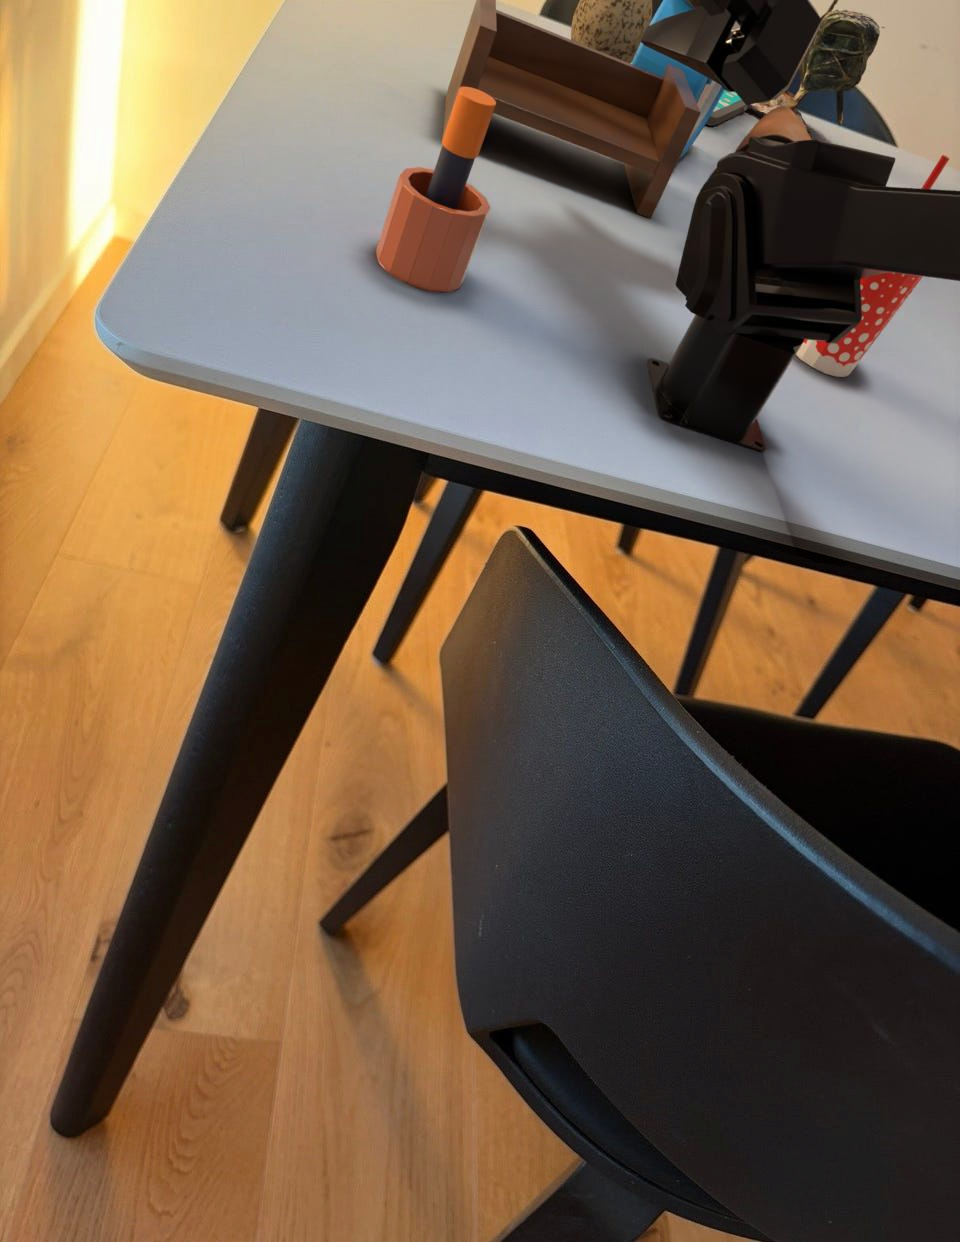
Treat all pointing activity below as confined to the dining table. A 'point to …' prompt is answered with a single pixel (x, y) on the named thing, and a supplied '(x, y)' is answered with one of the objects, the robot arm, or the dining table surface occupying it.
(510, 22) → the shelf
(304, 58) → the dining table surface
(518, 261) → the dining table surface
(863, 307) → the beverage cup
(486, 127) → the marker
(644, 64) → the alarm clock
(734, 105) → the smartphone
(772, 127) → the sunglasses case
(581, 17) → the decorative egg
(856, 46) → the plant with pod
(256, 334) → the dining table surface
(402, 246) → the pen cup
